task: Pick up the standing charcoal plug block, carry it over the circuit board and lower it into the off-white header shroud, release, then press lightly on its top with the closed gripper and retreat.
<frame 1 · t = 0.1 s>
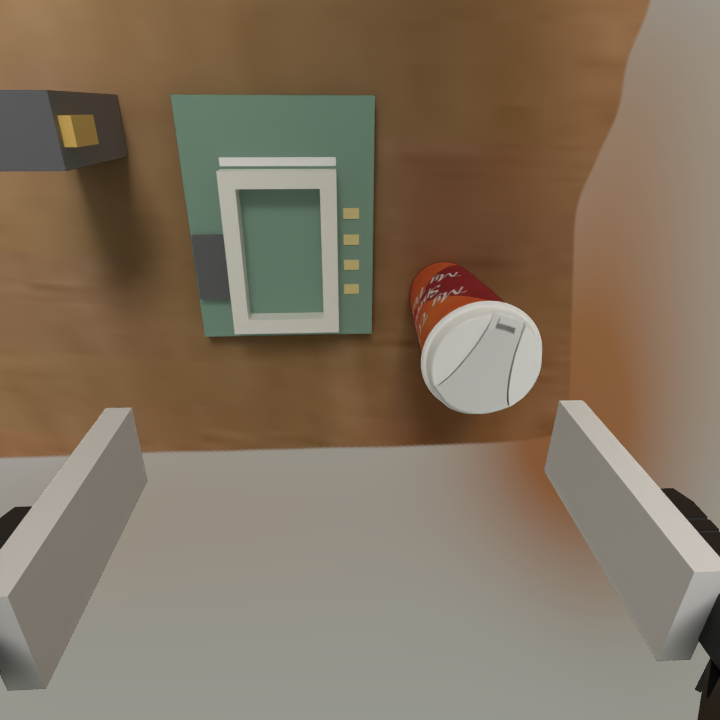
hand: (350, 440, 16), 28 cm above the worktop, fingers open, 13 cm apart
paper cup: (440, 293, 44), on the worktop
plug: (94, 126, 37), on the worktop
board: (283, 224, 40), on the worktop
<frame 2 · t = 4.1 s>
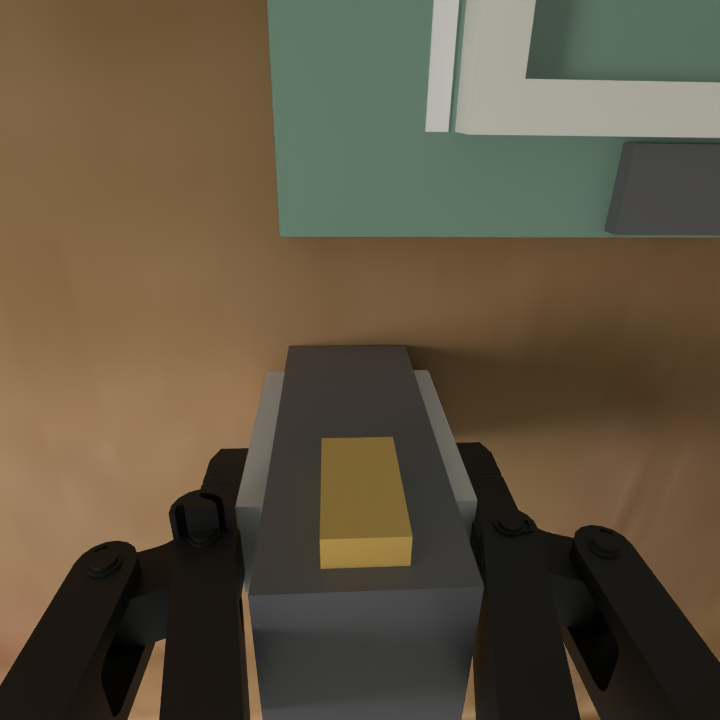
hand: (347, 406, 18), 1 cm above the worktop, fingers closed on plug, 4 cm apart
plug: (347, 396, 19), on the worktop, touching gripper
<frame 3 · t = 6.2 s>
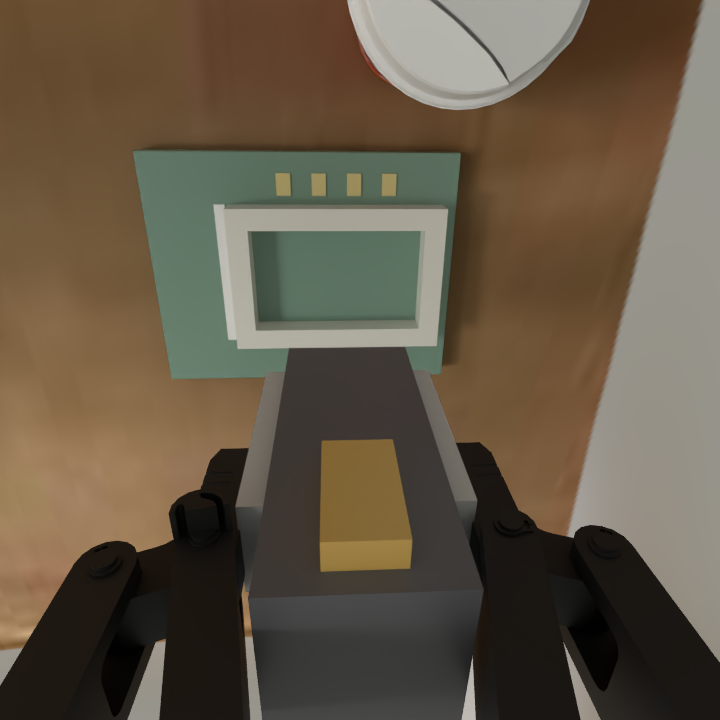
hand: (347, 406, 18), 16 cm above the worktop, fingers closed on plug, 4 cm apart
paper cup: (409, 29, 27), on the worktop
plug: (347, 397, 19), point 16 cm above the worktop, touching gripper
board: (305, 269, 32), on the worktop
when the fingers open (3 cm above the worktop, at t = 8.4 s): plug stays where it is, resting on board.
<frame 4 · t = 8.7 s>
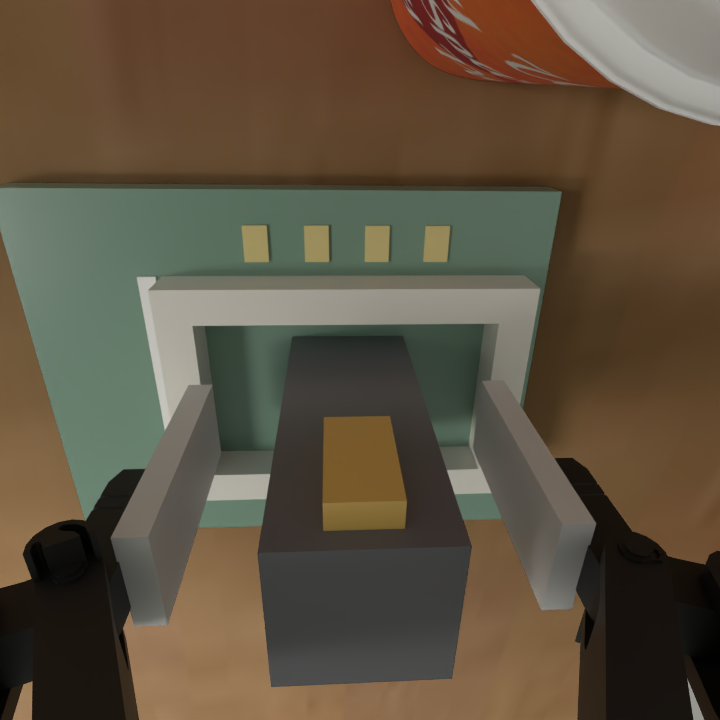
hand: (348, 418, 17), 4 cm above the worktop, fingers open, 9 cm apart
plug: (347, 384, 19), point 1 cm above the worktop, touching board
board: (295, 369, 20), on the worktop
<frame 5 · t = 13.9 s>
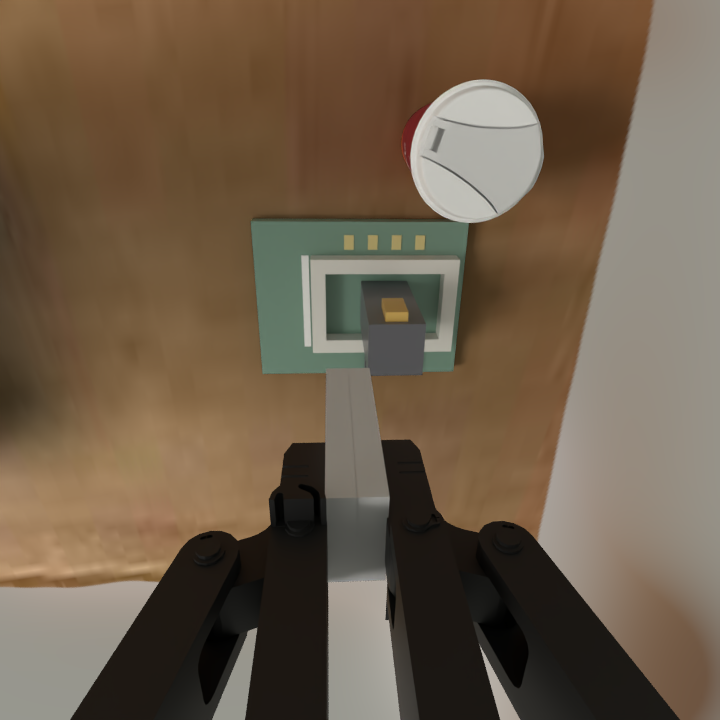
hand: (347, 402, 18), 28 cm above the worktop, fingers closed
paper cup: (435, 142, 41), on the worktop
plug: (382, 302, 45), point 1 cm above the worktop, touching board
board: (359, 297, 46), on the worktop
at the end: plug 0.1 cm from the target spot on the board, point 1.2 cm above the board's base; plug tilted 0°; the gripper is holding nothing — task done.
